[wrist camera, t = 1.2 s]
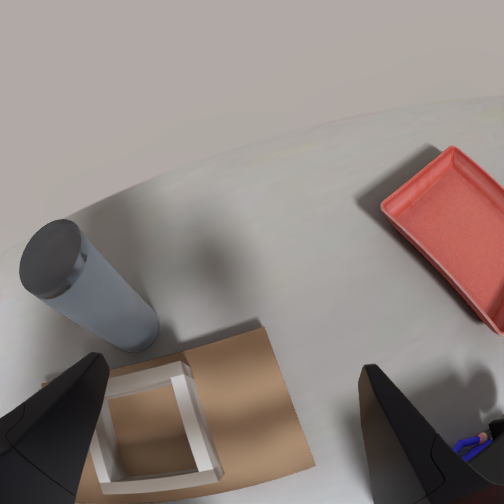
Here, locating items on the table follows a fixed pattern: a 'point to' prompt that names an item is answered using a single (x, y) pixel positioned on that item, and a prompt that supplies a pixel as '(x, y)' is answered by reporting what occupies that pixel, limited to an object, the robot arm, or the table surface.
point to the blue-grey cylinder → (86, 287)
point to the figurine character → (487, 452)
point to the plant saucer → (457, 228)
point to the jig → (194, 426)
